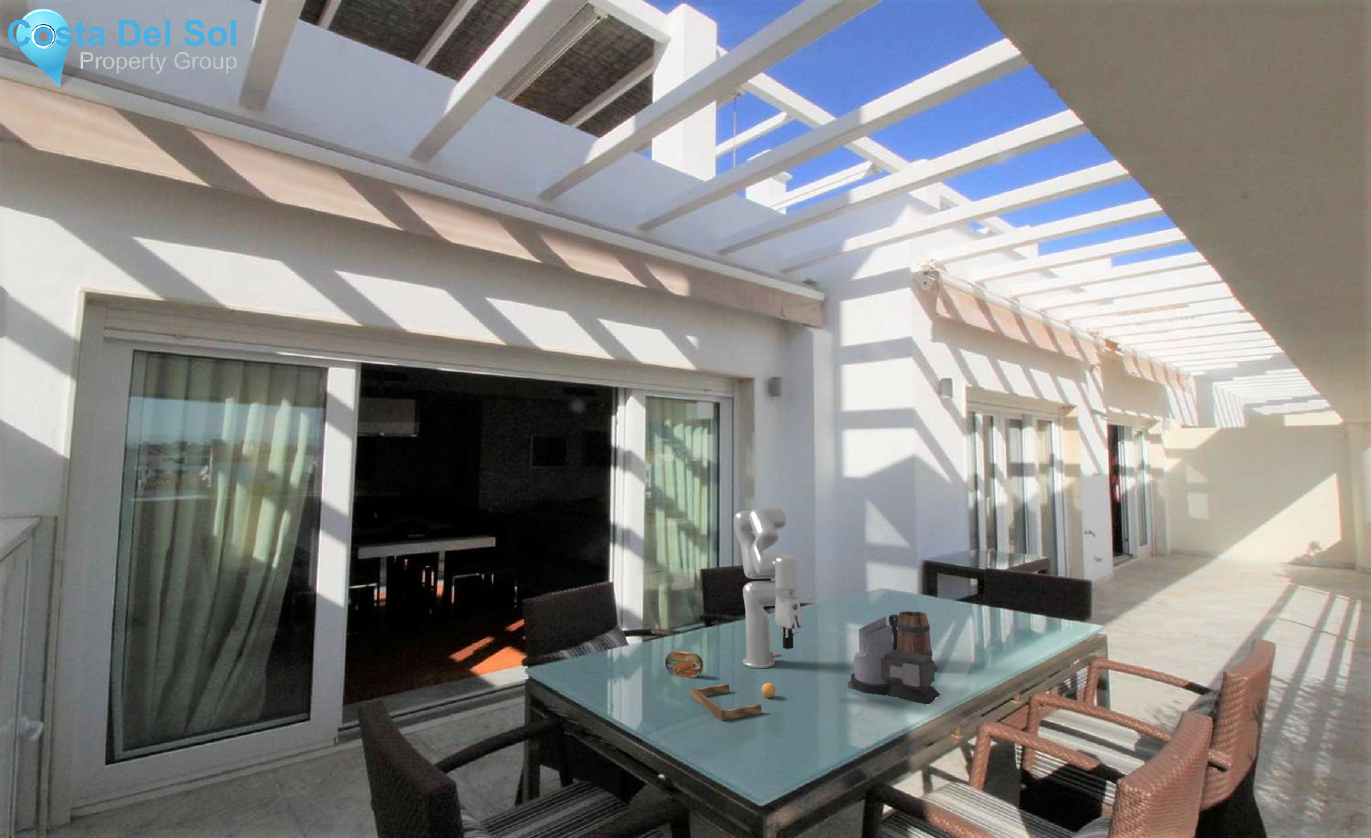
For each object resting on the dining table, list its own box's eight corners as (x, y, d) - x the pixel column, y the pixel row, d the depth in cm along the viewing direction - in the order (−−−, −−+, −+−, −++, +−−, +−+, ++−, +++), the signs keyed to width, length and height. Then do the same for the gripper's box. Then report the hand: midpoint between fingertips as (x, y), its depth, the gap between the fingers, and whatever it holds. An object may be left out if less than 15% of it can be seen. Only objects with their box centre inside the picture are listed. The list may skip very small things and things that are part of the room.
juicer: (839, 687, 216) (837, 615, 218) (859, 675, 228) (856, 607, 231) (927, 707, 197) (923, 628, 199) (943, 693, 209) (939, 619, 212)
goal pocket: (727, 691, 213) (727, 682, 213) (761, 713, 193) (761, 703, 193) (691, 697, 207) (690, 688, 208) (721, 720, 187) (721, 710, 188)
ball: (770, 693, 210) (770, 680, 210) (778, 698, 206) (777, 684, 206) (759, 696, 208) (759, 682, 209) (766, 700, 204) (766, 686, 204)
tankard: (948, 669, 234) (945, 615, 236) (914, 676, 227) (912, 620, 229) (902, 653, 255) (900, 604, 257) (870, 659, 248) (868, 608, 250)
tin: (664, 673, 232) (664, 650, 233) (668, 671, 235) (668, 648, 236) (700, 679, 225) (700, 655, 226) (704, 677, 228) (704, 653, 229)
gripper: (808, 595, 208) (810, 652, 206) (783, 589, 221) (785, 642, 220) (789, 597, 205) (791, 654, 203) (765, 590, 218) (767, 644, 216)
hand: (788, 648), depth 211 cm, fingers closed
